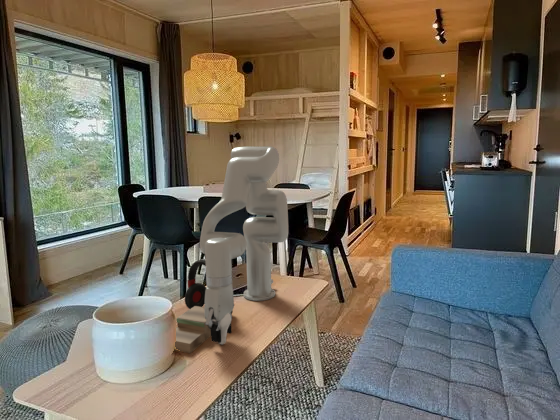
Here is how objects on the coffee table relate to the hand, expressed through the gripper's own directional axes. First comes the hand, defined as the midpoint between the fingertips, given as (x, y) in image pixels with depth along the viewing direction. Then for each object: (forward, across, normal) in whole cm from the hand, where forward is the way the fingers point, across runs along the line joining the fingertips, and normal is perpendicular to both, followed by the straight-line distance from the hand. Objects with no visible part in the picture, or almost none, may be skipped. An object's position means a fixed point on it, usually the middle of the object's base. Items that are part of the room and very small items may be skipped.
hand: (221, 336), depth 123 cm
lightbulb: (+3, 0, 0) cm, 3 cm away
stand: (+2, -1, -11) cm, 11 cm away
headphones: (+3, -18, -16) cm, 24 cm away
